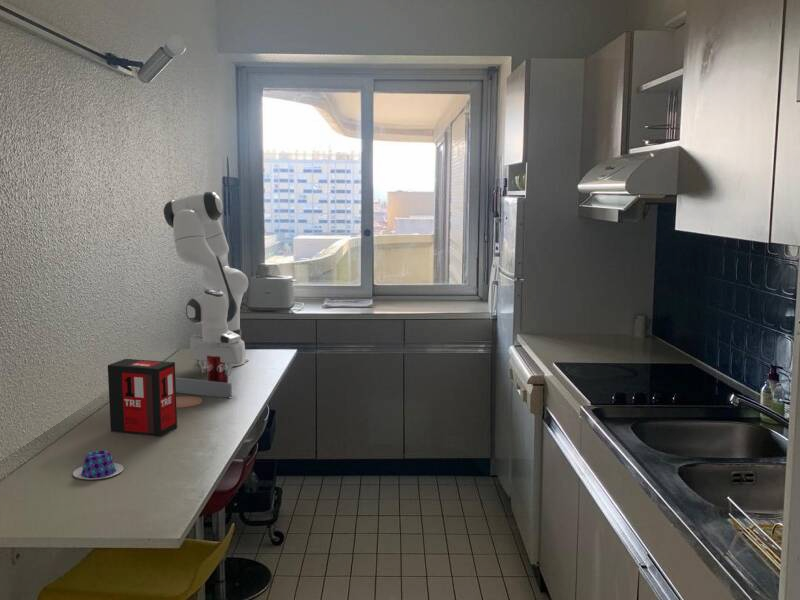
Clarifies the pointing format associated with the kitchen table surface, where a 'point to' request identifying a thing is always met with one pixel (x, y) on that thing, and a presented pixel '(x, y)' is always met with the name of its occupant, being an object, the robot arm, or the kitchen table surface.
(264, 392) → the kitchen table surface
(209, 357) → the soda can
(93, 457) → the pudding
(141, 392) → the cleaning product box
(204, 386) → the acrylic wall
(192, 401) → the terracotta mat
